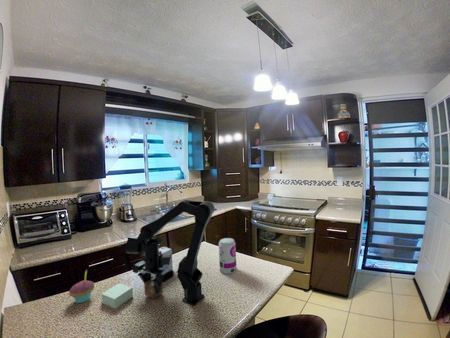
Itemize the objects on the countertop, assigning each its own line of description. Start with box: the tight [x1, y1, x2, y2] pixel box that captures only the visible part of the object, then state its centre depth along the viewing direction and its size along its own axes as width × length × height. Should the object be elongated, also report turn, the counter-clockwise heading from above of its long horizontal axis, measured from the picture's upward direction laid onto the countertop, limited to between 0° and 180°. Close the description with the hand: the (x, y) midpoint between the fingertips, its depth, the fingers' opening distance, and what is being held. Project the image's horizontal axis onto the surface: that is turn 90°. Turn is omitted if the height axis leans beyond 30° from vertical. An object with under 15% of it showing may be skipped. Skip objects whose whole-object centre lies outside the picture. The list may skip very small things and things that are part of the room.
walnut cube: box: [143, 277, 164, 299], centre depth 89 cm, size 5×5×5 cm
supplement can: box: [218, 237, 238, 275], centre depth 106 cm, size 8×8×15 cm
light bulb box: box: [151, 246, 174, 278], centre depth 107 cm, size 11×7×11 cm, turn 143°
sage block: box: [101, 283, 134, 309], centre depth 87 cm, size 8×8×4 cm
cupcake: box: [68, 268, 95, 304], centre depth 88 cm, size 9×8×12 cm
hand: (153, 291), depth 89 cm, fingers closed on walnut cube, 5 cm apart
